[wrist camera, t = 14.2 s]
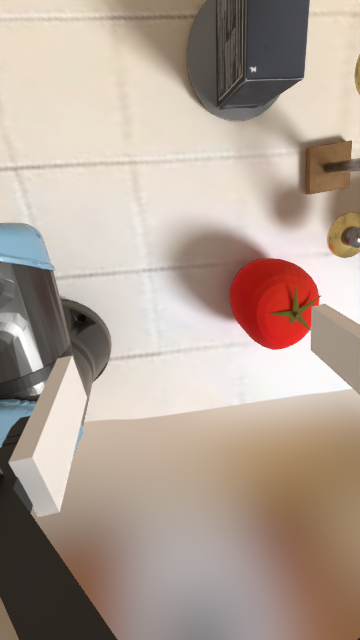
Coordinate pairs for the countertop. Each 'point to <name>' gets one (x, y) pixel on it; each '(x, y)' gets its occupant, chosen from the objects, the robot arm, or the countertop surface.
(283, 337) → the tomato
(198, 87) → the dish
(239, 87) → the small box
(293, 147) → the countertop surface
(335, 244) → the balance
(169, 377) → the countertop surface
